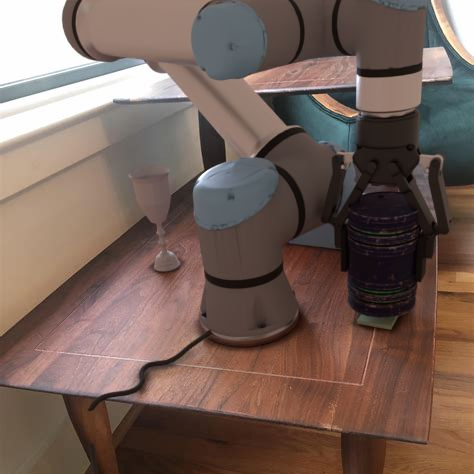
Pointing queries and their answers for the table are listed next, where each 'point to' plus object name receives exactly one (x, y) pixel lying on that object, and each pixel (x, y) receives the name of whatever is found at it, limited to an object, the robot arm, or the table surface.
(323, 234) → the open box
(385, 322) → the coaster
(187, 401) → the table surface
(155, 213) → the chalice
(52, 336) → the table surface
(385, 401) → the table surface
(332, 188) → the robot arm
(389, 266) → the dark striped canister
